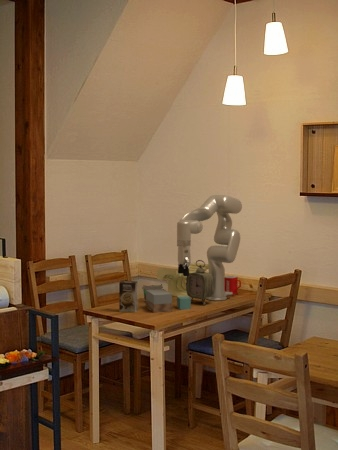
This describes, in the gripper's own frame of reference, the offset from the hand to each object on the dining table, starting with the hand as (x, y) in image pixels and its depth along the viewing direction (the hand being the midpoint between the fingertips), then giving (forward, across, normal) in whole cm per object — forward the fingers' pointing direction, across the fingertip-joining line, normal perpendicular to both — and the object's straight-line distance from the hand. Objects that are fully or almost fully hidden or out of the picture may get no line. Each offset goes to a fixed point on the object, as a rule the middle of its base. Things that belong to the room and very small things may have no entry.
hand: (183, 274), depth 364 cm
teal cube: (+19, 0, 0) cm, 19 cm away
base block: (+19, +1, +14) cm, 24 cm away
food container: (+19, +20, +12) cm, 30 cm away
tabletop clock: (+19, +10, -13) cm, 25 cm away
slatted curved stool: (+18, +38, -11) cm, 44 cm away
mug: (+18, +31, -40) cm, 54 cm away
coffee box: (+19, +1, +31) cm, 36 cm away
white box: (+14, +1, +14) cm, 20 cm away
